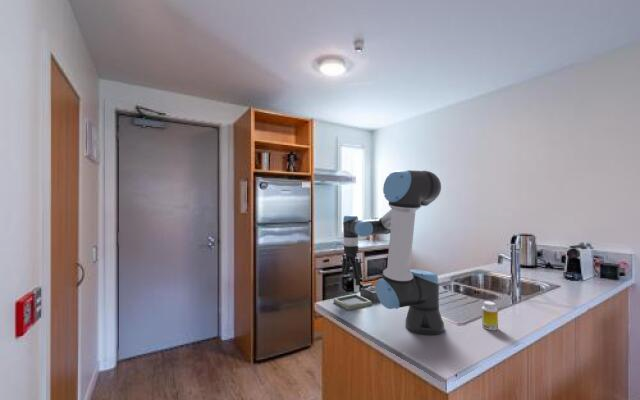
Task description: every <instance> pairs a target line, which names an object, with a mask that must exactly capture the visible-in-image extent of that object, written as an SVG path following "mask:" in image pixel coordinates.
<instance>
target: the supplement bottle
mask: <svg viewBox="0 0 640 400" xmlns="http://www.w3.org/2000/svg"><path fill="white" fill-rule="evenodd" d="M498 312H499V311H498V308H497V307H496V303H495V302H493V301H487V300H486V301H484V302H483V306H481V324H482V328H484V329H486V330H487V331H497V330H498V329H499V318H498Z"/></svg>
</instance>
